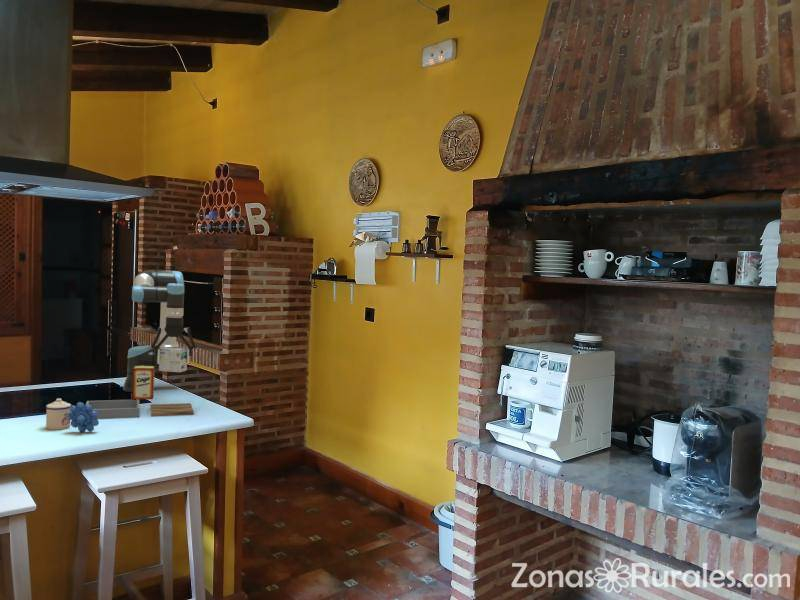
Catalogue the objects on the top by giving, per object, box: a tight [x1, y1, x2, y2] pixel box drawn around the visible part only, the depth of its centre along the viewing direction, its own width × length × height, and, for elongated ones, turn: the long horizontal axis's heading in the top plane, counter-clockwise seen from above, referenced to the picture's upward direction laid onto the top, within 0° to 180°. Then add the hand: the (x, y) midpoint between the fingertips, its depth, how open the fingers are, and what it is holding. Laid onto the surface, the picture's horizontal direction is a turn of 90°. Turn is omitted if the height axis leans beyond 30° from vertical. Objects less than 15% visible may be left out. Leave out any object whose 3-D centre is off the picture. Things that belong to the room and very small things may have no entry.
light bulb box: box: [158, 346, 188, 373], centre depth 289 cm, size 11×7×11 cm, turn 84°
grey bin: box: [85, 399, 140, 420], centre depth 281 cm, size 19×22×4 cm
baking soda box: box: [131, 366, 155, 400], centre depth 315 cm, size 10×6×16 cm
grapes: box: [67, 401, 100, 433], centre depth 247 cm, size 12×7×12 cm, turn 100°
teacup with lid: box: [45, 398, 72, 431], centre depth 255 cm, size 12×9×12 cm
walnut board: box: [150, 402, 195, 417], centre depth 291 cm, size 18×18×2 cm
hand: (173, 363), depth 290 cm, fingers closed on light bulb box, 12 cm apart
